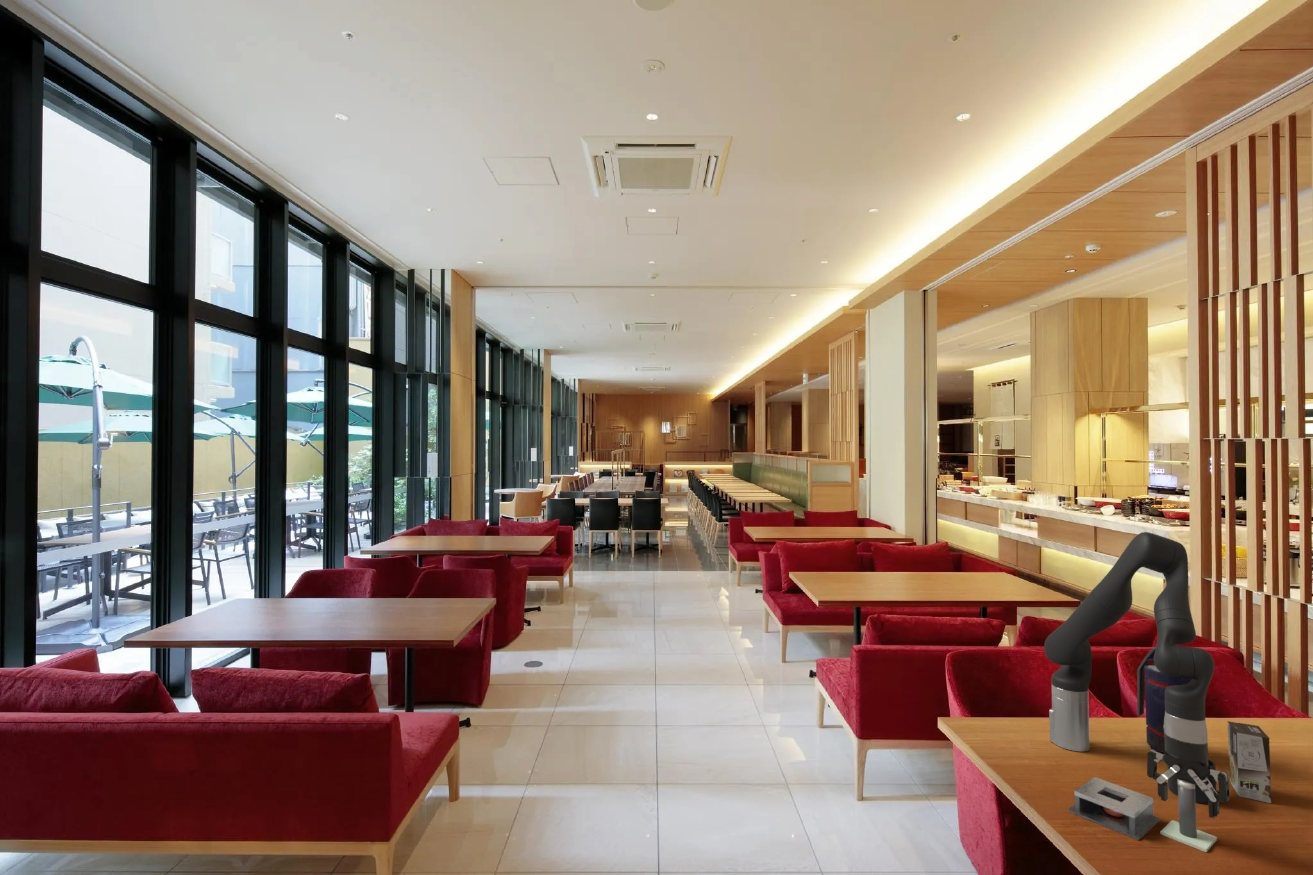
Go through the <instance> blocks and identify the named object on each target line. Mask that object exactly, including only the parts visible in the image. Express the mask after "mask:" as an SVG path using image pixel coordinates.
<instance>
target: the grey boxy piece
mask: <svg viewBox="0 0 1313 875" xmlns="http://www.w3.org/2000/svg"><path fill="white" fill-rule="evenodd" d="M1103 806H1104V807H1106V808H1109V809H1111V810H1114V811H1116V812H1119V813H1121V814H1124V816H1123V817H1116V816H1112V815H1109V814H1107V813H1106V812H1105V811H1104V810H1103ZM1068 813H1071V814H1073V815H1076V816H1079V817H1081V818H1083V819H1086V820H1089V821H1090V822H1093V823H1095V824H1098V825H1101V826H1102V827H1105V828H1107V829H1110V830H1112V831H1115V832H1117V833H1120V834H1121V835H1124V836H1127V837H1130V838H1132V839H1135V840H1137V841H1140V840H1141V839H1142V838H1143V837H1144V836H1145V835H1146V834H1147V833H1148V832H1149V831H1150V830H1151V829H1152V828H1154V827H1155V826H1156V825H1157V824H1158V823H1159V822H1160V821H1161V817H1159V816H1156V815H1154V798H1153V797H1151V796H1149V795H1146V794H1143V793H1140V792H1138V791H1134V790H1133V789H1130V788H1126V787H1123V786H1121V785H1119V784H1115V783H1112V782H1109V781H1107V780H1104V779H1102V778H1099V777H1096V776H1094V777H1092V778H1091V779H1090V780H1088V781H1087V782H1085V783H1083V785H1081V786H1079V787H1078V788H1077V789H1075V790H1074V805H1072V806H1071V807H1070V808H1069V809H1068Z"/></svg>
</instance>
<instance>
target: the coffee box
mask: <svg viewBox="0 0 1313 875" xmlns="http://www.w3.org/2000/svg"><path fill="white" fill-rule="evenodd" d="M1227 739H1228V740H1227V744H1228V745H1227V747H1228V764H1229V766H1228V767H1229V769H1228V770H1229V784H1230V785H1231V786H1232V788H1233V789H1234V791H1235V792H1236V794H1237V795H1238V797H1240V798H1244V799H1250V800H1253V801H1259V802H1263V803H1267V804H1271V803H1272V785H1271V780H1272V779H1271V752H1270V749H1271V748H1270V747H1271V746H1270V737H1269V736H1268V734H1266V732H1264V730H1263V729H1262V728H1261V727H1260V726H1259V725H1255V724H1251V723H1250V724H1249V723H1242V722H1235V721H1234V722H1233V721H1229V720H1227Z"/></svg>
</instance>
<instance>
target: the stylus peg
mask: <svg viewBox="0 0 1313 875" xmlns="http://www.w3.org/2000/svg"><path fill="white" fill-rule="evenodd" d="M1177 784H1178V796H1177V798H1178V799H1177V801H1178V802H1177V804H1178V822H1179V831H1180V833H1181V834H1182V835H1184V836H1186V837H1190V838H1196V837H1197V830H1198V829H1197V828H1198V827H1197V826H1198V824H1197V808H1196V806H1197V804H1196V803H1197V802H1196V800H1195V784H1192V783H1189V782H1187V781H1184V780H1180V779H1177Z"/></svg>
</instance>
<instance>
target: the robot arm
mask: <svg viewBox="0 0 1313 875" xmlns="http://www.w3.org/2000/svg"><path fill="white" fill-rule="evenodd" d="M1141 568H1145V569H1147V570H1151V571H1154V572H1157V573H1160V574H1162V575H1163V577H1164V579H1165V582H1166V584H1165V588H1164V589H1163V590H1162V591H1161V592H1160V594H1159V595H1158V596H1157V597H1156V599H1155V602H1154V606H1153V614H1154V615H1153V616H1154V619H1155V625H1156V629H1157V640H1156V641H1157V642H1156V646H1155V647H1156V649H1155V653H1154V661H1153V663H1154V664H1155V666H1156V668H1157V669H1158V670H1159V671H1160V672H1161V673H1162V674H1164V675H1167V676H1173V677H1181V678H1188V679H1192V680H1191V681H1190V682H1189V683H1188V684H1185V685H1175V686H1168V687H1167V688H1166V689H1165V717H1164V738H1165V753H1162V752H1159V751H1158V750H1157V751H1156V750H1154V749H1152V750H1151V749H1150V750H1149V751H1148V752H1147V763H1146V764H1147V765H1146V766H1147V768H1146V775H1147V777H1148V778H1149V779H1153V780H1155V781H1156V783H1157V795H1158V797H1159V798H1160V800H1161V801H1164V802H1166V801H1168V799H1169V793H1168V792H1169V788H1168V779H1169V778H1170V777H1171V776H1172V775H1174V776H1175V777H1176V778H1177V779H1180V780H1184V781H1187V782H1189V783H1192V784H1197V785H1198V786H1199V787H1200V789H1201V790H1202V791H1204V792H1205V794H1206V795H1207V796H1208V798H1209V800H1208V804H1207V805H1208V818H1210V819H1215V818H1216V817H1218V815H1220V802H1221V803H1223V804H1225V803H1228V801H1229V800H1230V799H1231V792H1230V791H1231V790H1230V779H1229V773H1228V772H1227V771H1225V770H1221V771H1220V770H1217V769H1216V770H1212V769H1211V768H1210V767H1209V764H1208V759H1209V746H1208V745H1209V744H1208V740H1209V739H1208V736H1209V735H1208V727H1207V723H1206V722H1207V721H1206V699H1207V698H1206V697H1207V692H1208V689H1209V686H1210V684H1211V680H1212V678H1213V676H1214V671H1215V667H1216V666H1215V665H1216V664H1215V660H1214V658H1213V656H1212V655H1211V654H1210V652H1208V651H1207V650H1206V649H1205V648H1204V649H1203V648H1200V647H1194V646H1185V645H1187V644H1190V643H1192V642H1194V640H1196V637H1197V630H1196V628H1195V624H1194V620H1193V616H1192V612H1191V607H1190V599H1189V559H1188V552H1187V549H1186V547H1185V546H1184V545H1183V544H1182V543H1181V542H1178V541H1177V540H1173V539H1171V538H1167V537H1165V536H1162V535H1158V534H1155V533H1152V532H1147V531H1144V532H1143V531H1142V532H1139V533H1138V534H1137V535H1136V536H1135V537H1133V538H1132V540H1131V541H1130V542H1129V543H1128V545H1127V546H1126V548H1125V549H1124V550H1123V552H1122V553H1121V555H1120V556H1119V557H1118V559H1117V561H1116V562H1115V564H1114V565H1113V566H1112V567H1111V569H1110V570H1109V571H1108V572H1107V574H1106V575H1105V576H1104V577H1103V578H1102V579H1101V580H1100V581H1099V583H1097V585H1096V586H1094V588H1093V589H1092V590H1091V591H1090V592H1089V593H1088V594H1087V596H1086V597H1085V598H1084V599H1083V601H1082V602H1081V603H1080V604H1079V605H1078V607H1076V609H1075V610H1074V611H1073V612H1072V613H1071V615H1070V616H1069V617H1068V618H1067V619H1065V621H1064V622H1063V623H1062V624H1061V625H1059V626H1058V627H1057V628H1056V629H1054V631H1052V632H1051V633H1050V634H1049V635H1048V636H1047V637H1046V638H1045V641H1044V646H1043V650H1044V654H1045V656H1046V658H1047V659H1048V661H1050V662H1051V663H1053V664H1056V665H1059V666H1060V667H1059V668H1058V669H1057V670H1056V671H1055V672H1053V673H1052V675H1051V708H1049V711H1048V713H1049V714H1048V715H1049V742H1050V743H1053V744H1055V745H1056V746H1058V747H1059V748H1062V749H1066V750H1068V751H1074V752H1087V751H1089V750H1090V747H1091V746H1090V743H1091V741H1090V709H1089V700H1090V699H1089V684H1090V682H1091V680H1092V667H1093V666H1092V664H1093V652H1092V651H1093V650H1092V647H1091V644H1090V641H1089V639H1090V638H1093V637H1094V636H1096V635H1098V634H1100V633H1101V632H1104V631H1105V630H1108V629H1109V628H1111V627H1112V626H1114V625H1115V624H1117V623H1118V622H1119V621H1120V620H1121V619H1122V618H1123V617H1124V616H1125V615H1126V614H1127V613H1128V612H1129V610H1130V609H1131V607H1132V605H1133V591H1132V588H1133V587H1132V579H1133V578H1134V575H1135V574H1136V573H1137V572H1138V571H1139V569H1141ZM1161 760H1162V761H1163V763H1164V764H1165V766H1166V767H1168V768H1169V769H1168V768H1167V770H1166V771H1165V772H1163V773H1162V774H1160V773H1158V763H1159V762H1160V761H1161ZM1209 775H1212V776H1213V777H1214V779H1215V781H1216V783H1217V784H1218V785H1217V786H1218V791H1219V794H1218V793H1217V792H1216V791H1215V789H1214V788H1213V786H1212V784H1211V783H1210V781H1209V780H1208V779H1207V777H1208V776H1209Z"/></svg>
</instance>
